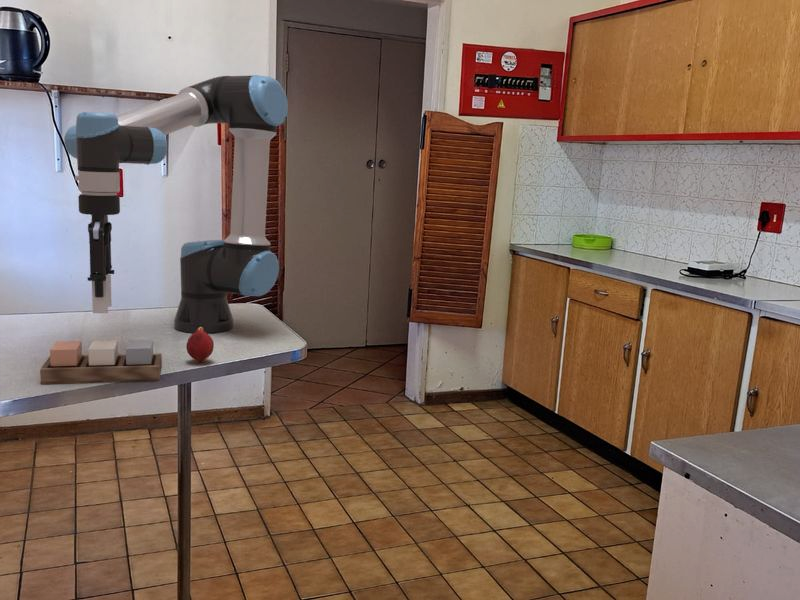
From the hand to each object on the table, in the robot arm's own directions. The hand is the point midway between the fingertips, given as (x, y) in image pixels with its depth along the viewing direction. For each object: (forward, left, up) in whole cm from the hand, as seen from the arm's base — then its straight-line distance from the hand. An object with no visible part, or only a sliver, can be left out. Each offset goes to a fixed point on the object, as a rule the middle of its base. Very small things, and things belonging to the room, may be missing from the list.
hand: (102, 309), depth 149 cm
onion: (-19, -8, -14) cm, 25 cm away
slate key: (-7, 0, -11) cm, 13 cm away
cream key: (0, 0, -11) cm, 11 cm away
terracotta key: (+7, 0, -11) cm, 13 cm away
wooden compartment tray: (0, 0, -14) cm, 14 cm away
